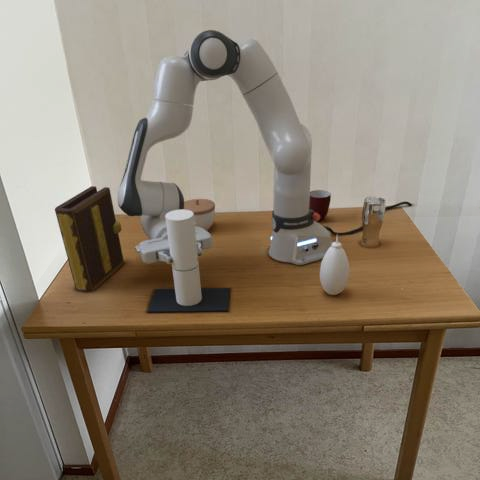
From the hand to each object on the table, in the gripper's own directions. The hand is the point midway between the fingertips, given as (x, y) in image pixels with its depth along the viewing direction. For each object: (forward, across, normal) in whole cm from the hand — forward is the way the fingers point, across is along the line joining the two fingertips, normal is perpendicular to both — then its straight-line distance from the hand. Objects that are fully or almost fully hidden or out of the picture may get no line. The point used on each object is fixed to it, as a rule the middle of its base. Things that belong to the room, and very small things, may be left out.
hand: (185, 257), depth 129 cm
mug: (-31, +61, +14) cm, 70 cm away
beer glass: (-4, +66, +14) cm, 67 cm away
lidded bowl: (-46, +21, +14) cm, 52 cm away
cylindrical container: (-1, 0, +14) cm, 14 cm away
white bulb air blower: (+16, +37, +14) cm, 42 cm away
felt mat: (-1, 0, +14) cm, 14 cm away
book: (-29, -18, +14) cm, 37 cm away
